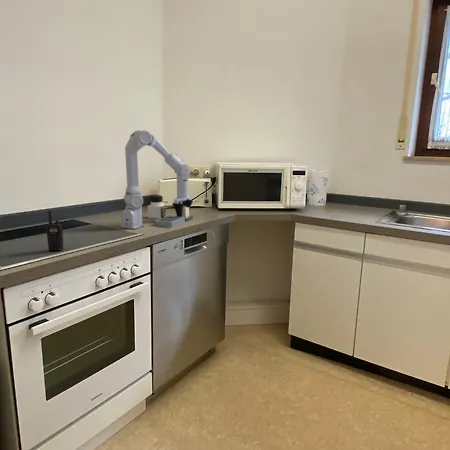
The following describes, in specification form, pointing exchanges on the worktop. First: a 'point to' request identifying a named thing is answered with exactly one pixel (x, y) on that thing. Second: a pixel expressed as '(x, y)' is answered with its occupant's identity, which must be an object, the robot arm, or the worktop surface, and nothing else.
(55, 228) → the two-way radio
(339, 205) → the worktop surface
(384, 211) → the worktop surface
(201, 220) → the worktop surface
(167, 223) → the port panel
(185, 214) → the plug
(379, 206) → the worktop surface
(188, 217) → the bracket
